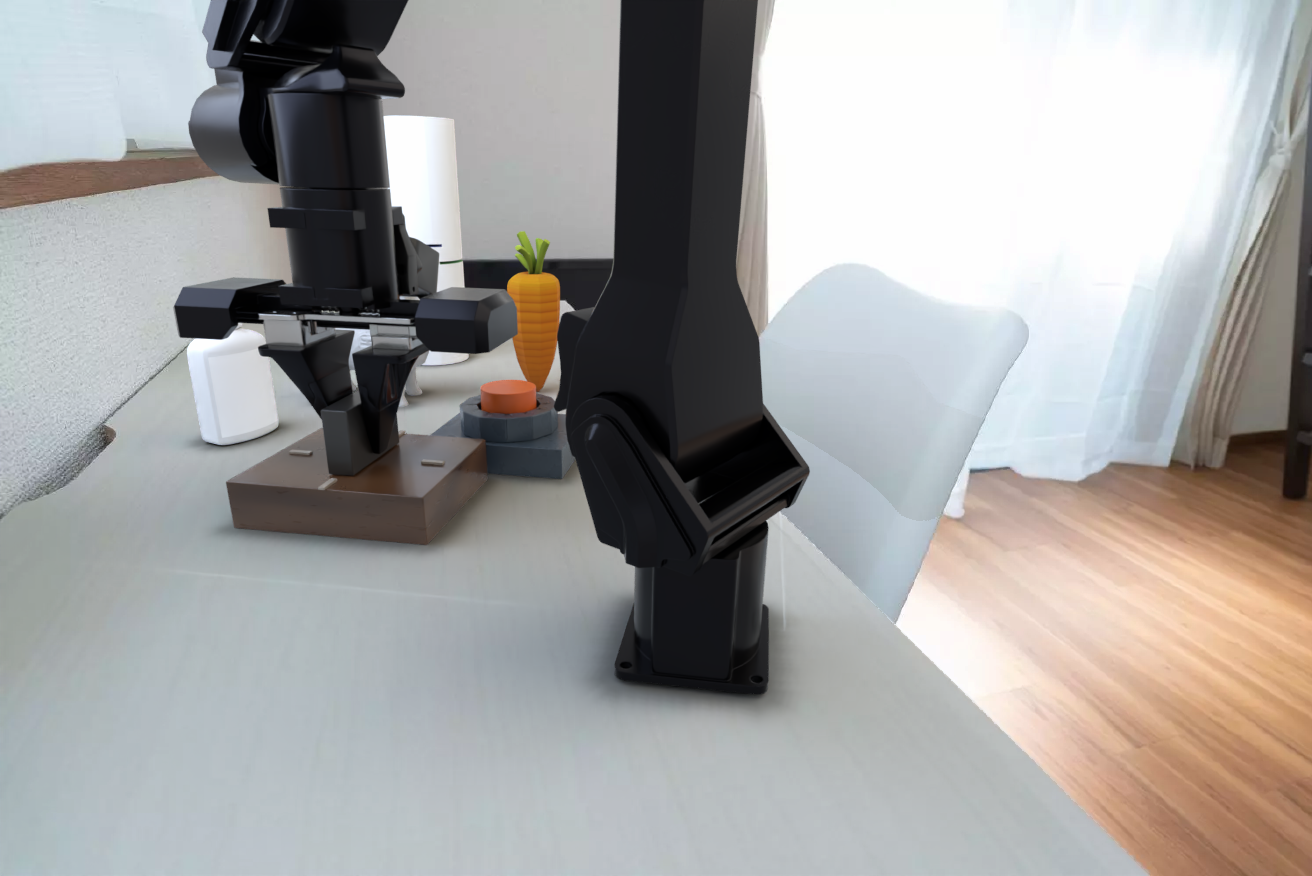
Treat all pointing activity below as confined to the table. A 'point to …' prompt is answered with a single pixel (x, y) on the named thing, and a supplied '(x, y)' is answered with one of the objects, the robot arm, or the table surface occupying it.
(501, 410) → the button
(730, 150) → the robot arm
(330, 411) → the block
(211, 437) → the eye dropper bottle
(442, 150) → the cylindrical container
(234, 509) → the brown flat block
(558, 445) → the button box
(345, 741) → the table surface
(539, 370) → the carrot
